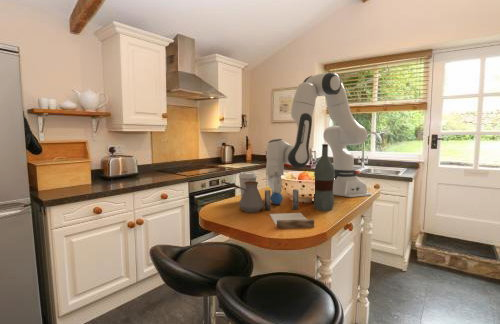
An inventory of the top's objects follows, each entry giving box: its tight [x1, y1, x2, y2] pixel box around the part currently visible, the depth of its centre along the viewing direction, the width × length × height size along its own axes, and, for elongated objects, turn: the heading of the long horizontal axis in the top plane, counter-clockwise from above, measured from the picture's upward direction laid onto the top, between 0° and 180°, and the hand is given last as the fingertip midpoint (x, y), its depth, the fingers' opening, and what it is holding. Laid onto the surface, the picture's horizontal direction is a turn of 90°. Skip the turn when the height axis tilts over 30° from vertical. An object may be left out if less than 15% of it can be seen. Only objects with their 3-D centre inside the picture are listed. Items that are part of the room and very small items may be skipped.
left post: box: [264, 189, 272, 212], centre depth 130 cm, size 3×3×9 cm
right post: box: [292, 188, 299, 211], centre depth 131 cm, size 3×3×9 cm
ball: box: [270, 193, 284, 205], centre depth 140 cm, size 6×6×6 cm
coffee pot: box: [221, 181, 265, 213], centre depth 126 cm, size 21×12×15 cm, turn 131°
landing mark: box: [269, 212, 307, 226], centre depth 117 cm, size 14×14×1 cm
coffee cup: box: [238, 171, 258, 198], centre depth 144 cm, size 10×10×15 cm
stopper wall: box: [276, 218, 315, 230], centre depth 107 cm, size 14×2×2 cm, turn 96°
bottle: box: [313, 143, 335, 212], centre depth 131 cm, size 9×9×30 cm
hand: (274, 198), depth 144 cm, fingers closed
